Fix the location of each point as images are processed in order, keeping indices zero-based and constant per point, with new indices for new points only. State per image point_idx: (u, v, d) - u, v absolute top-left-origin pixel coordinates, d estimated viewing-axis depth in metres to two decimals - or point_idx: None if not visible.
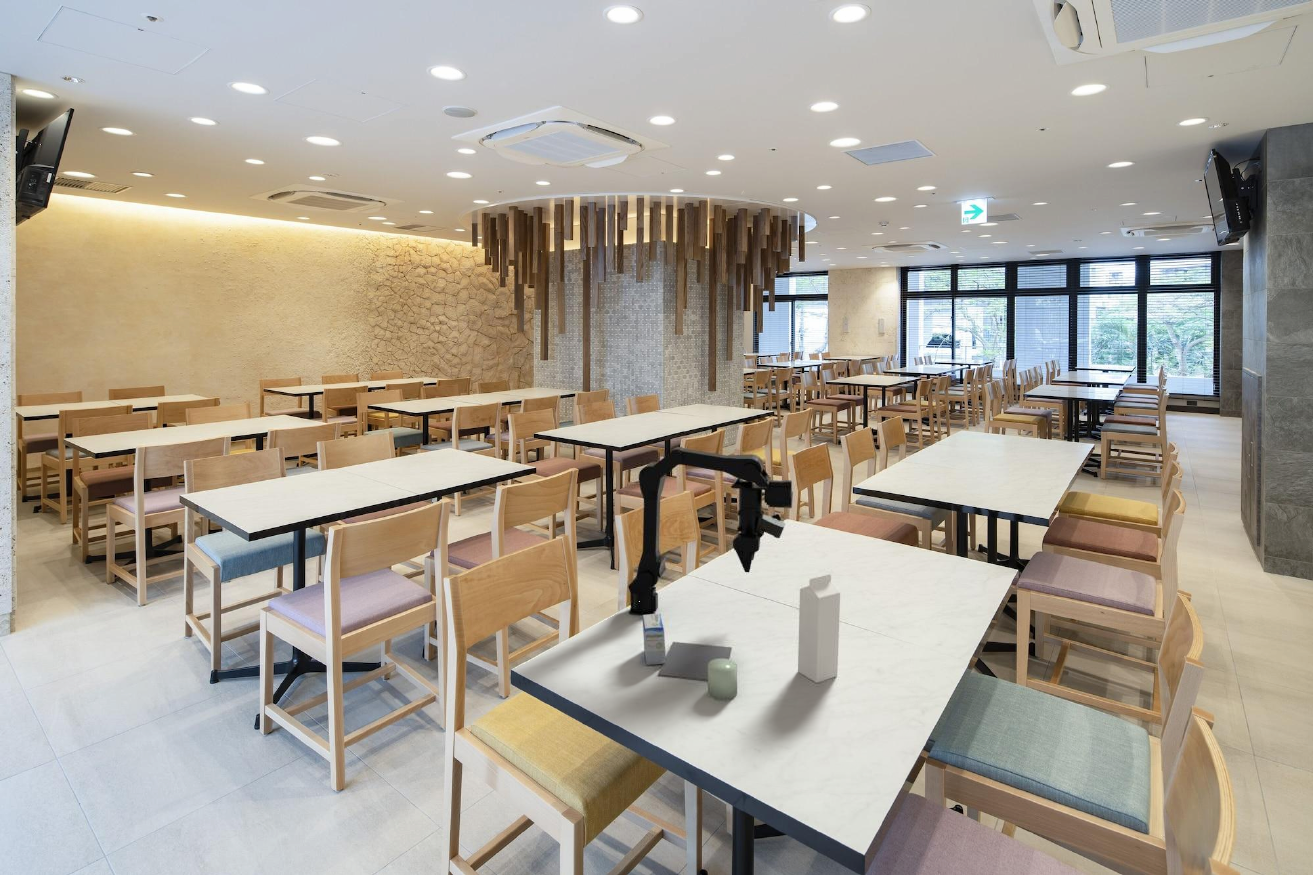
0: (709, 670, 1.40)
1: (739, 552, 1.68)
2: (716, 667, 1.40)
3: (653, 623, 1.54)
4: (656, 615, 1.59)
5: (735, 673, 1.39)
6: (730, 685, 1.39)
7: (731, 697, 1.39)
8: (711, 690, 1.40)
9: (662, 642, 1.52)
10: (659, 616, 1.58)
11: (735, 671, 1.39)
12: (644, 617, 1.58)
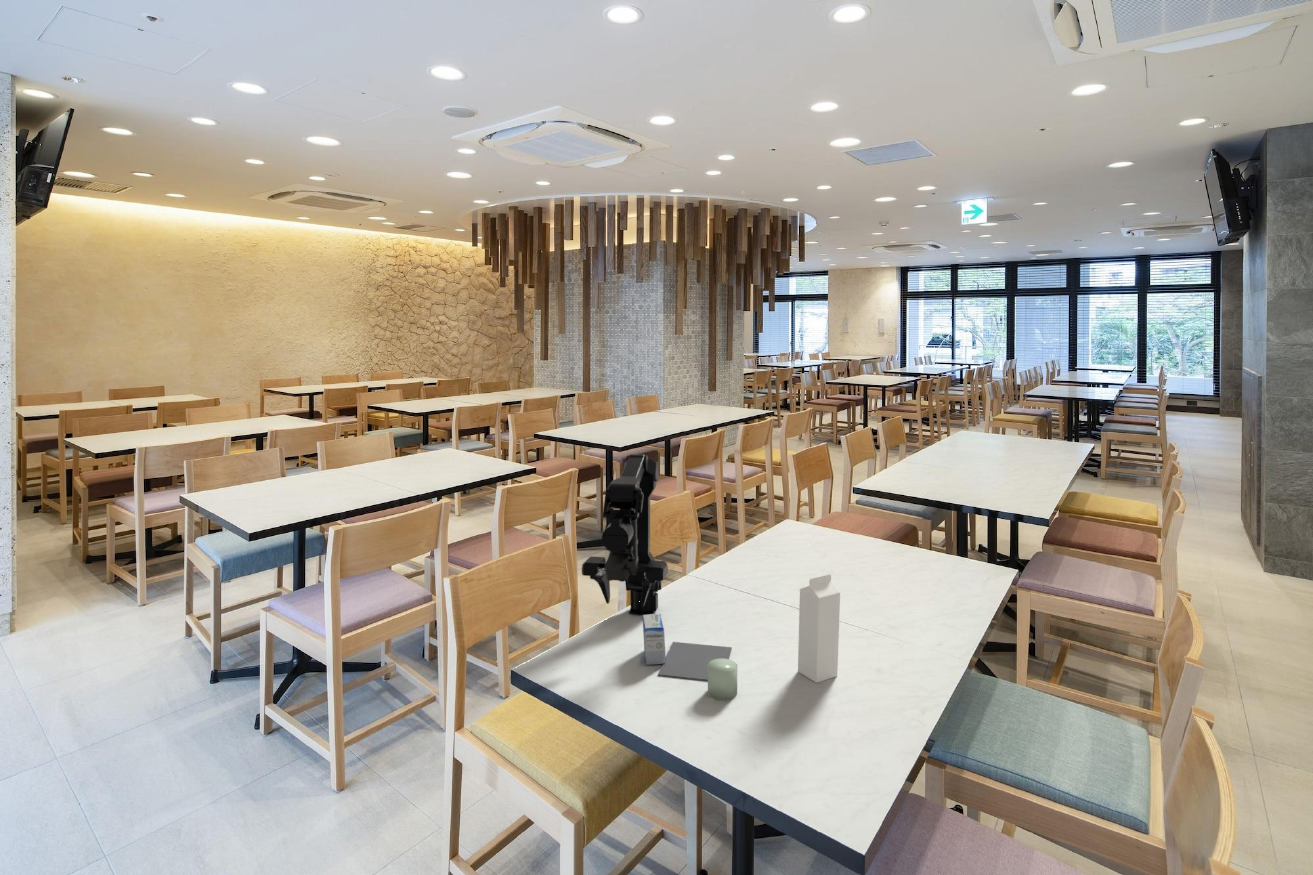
0: (709, 670, 1.40)
1: None
2: (716, 667, 1.40)
3: (653, 623, 1.54)
4: (656, 615, 1.59)
5: (735, 673, 1.39)
6: (730, 685, 1.39)
7: (731, 697, 1.39)
8: (711, 690, 1.40)
9: (662, 642, 1.52)
10: (659, 616, 1.58)
11: (735, 671, 1.39)
12: (644, 617, 1.58)
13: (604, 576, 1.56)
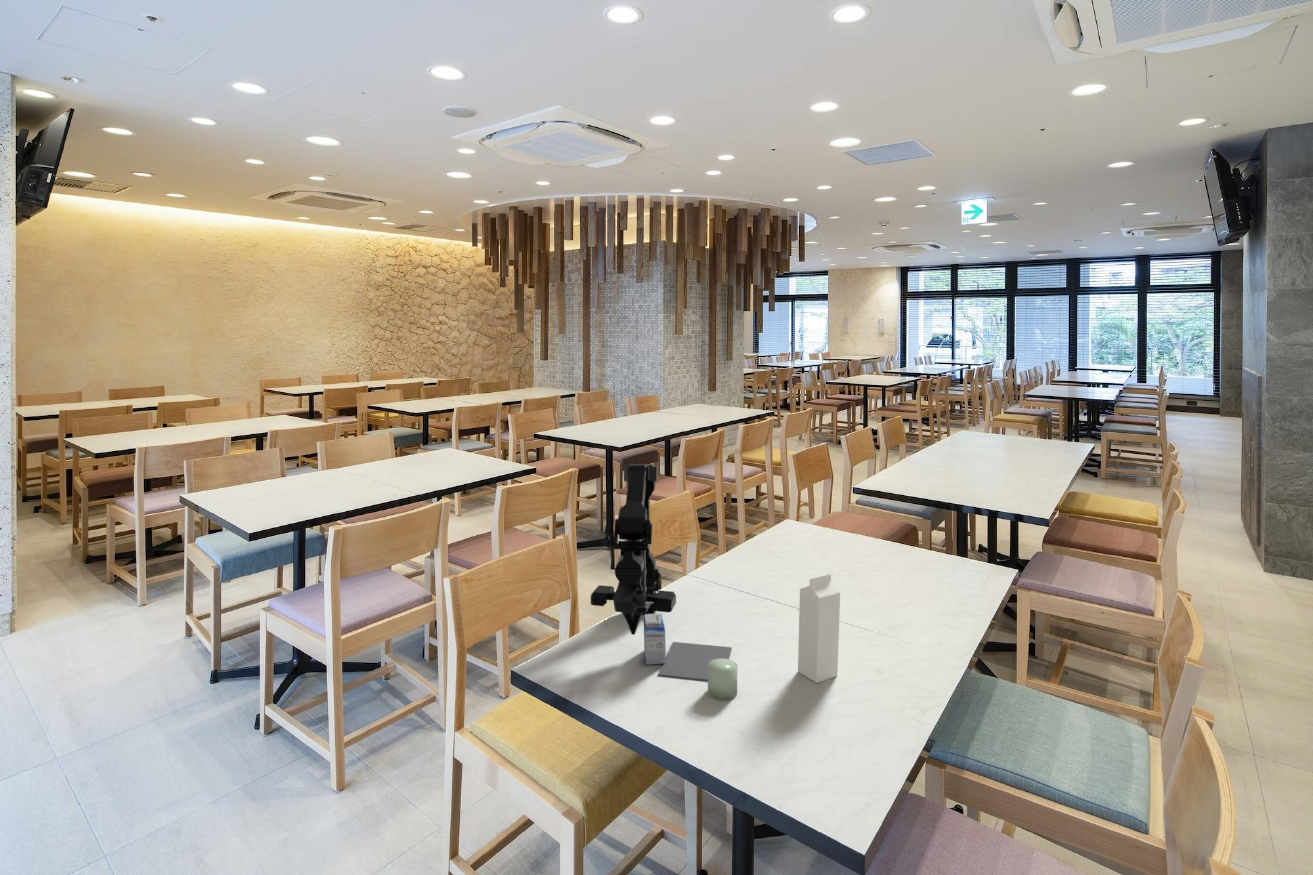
0: (709, 670, 1.40)
1: None
2: (716, 667, 1.40)
3: (654, 623, 1.54)
4: (657, 615, 1.59)
5: (735, 673, 1.39)
6: (730, 685, 1.39)
7: (731, 697, 1.39)
8: (711, 690, 1.40)
9: (663, 642, 1.52)
10: (660, 616, 1.58)
11: (735, 671, 1.39)
12: (645, 616, 1.58)
13: None
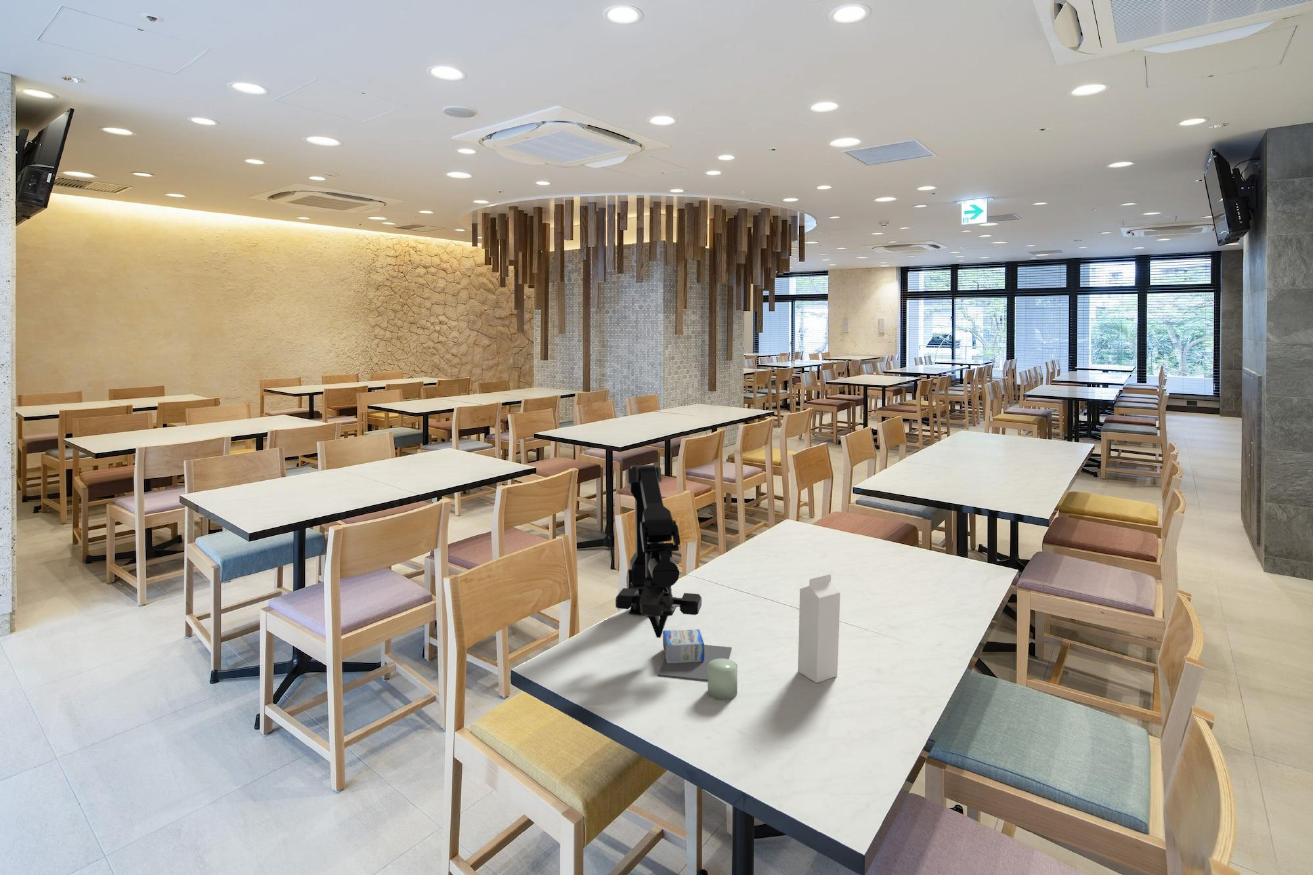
0: (709, 670, 1.40)
1: None
2: (716, 667, 1.40)
3: None
4: None
5: (735, 673, 1.39)
6: (730, 685, 1.39)
7: (731, 697, 1.39)
8: (711, 690, 1.40)
9: (688, 660, 1.54)
10: None
11: (735, 671, 1.39)
12: (700, 633, 1.59)
13: None
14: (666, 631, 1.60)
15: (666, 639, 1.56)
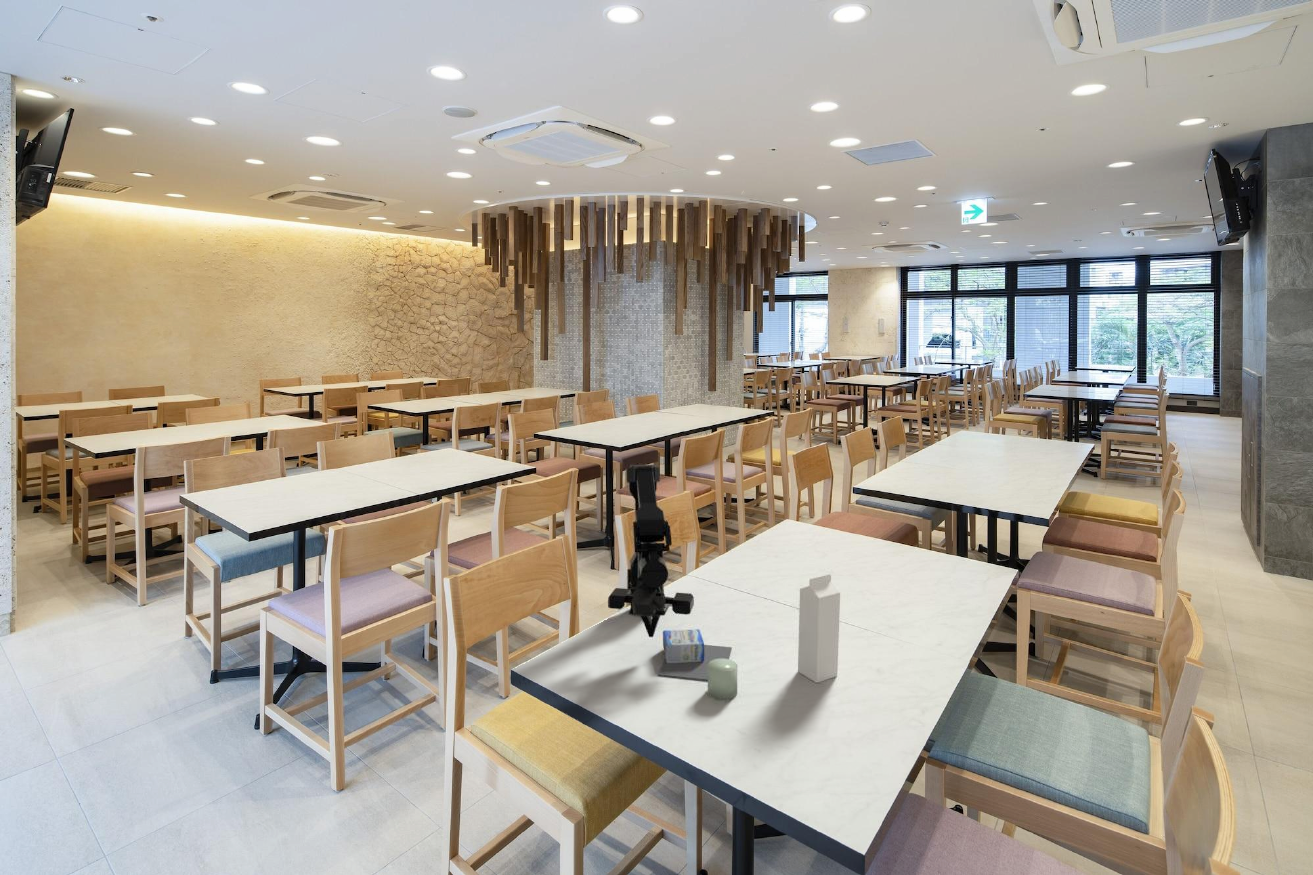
0: (709, 670, 1.40)
1: None
2: (716, 667, 1.40)
3: None
4: None
5: (735, 673, 1.39)
6: (730, 685, 1.39)
7: (731, 697, 1.39)
8: (711, 690, 1.40)
9: (688, 660, 1.54)
10: None
11: (735, 671, 1.39)
12: (700, 633, 1.59)
13: None
14: (666, 631, 1.60)
15: (666, 639, 1.56)
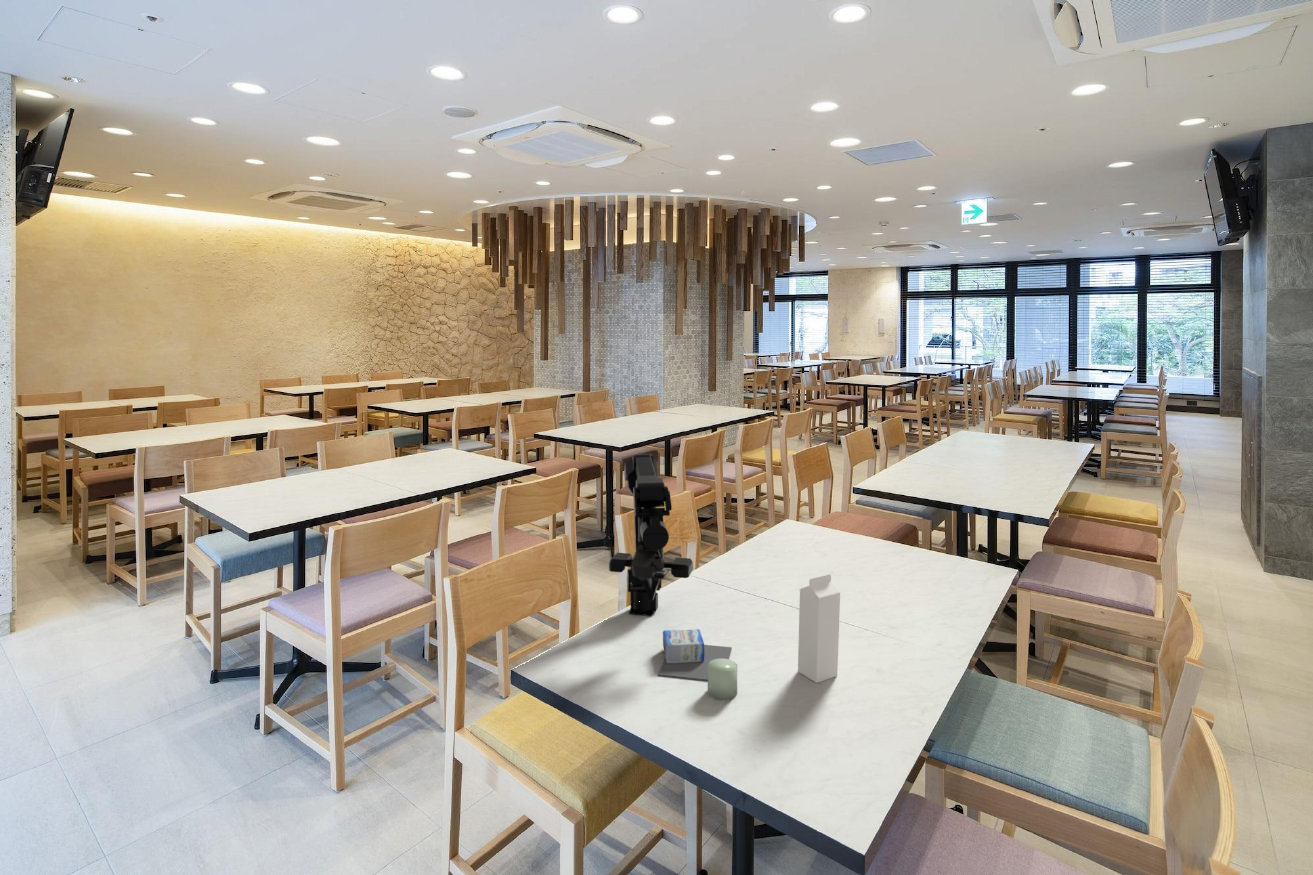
0: (709, 670, 1.40)
1: None
2: (716, 667, 1.40)
3: None
4: None
5: (735, 673, 1.39)
6: (730, 685, 1.39)
7: (731, 697, 1.39)
8: (711, 690, 1.40)
9: (688, 660, 1.54)
10: None
11: (735, 671, 1.39)
12: (700, 633, 1.59)
13: None
14: (666, 631, 1.60)
15: (666, 639, 1.56)
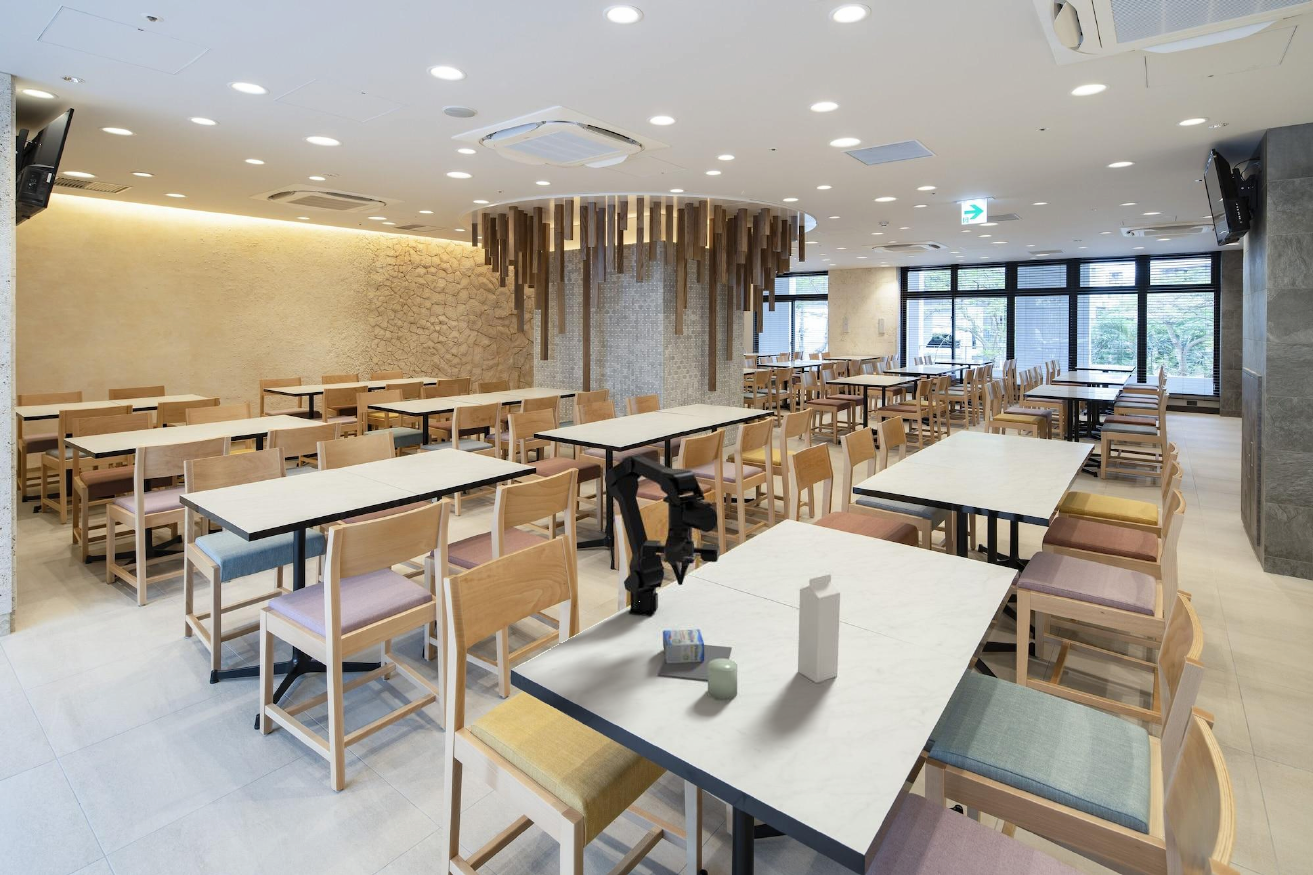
0: (709, 670, 1.40)
1: None
2: (716, 667, 1.40)
3: None
4: None
5: (735, 673, 1.39)
6: (730, 685, 1.39)
7: (731, 697, 1.39)
8: (711, 690, 1.40)
9: (688, 660, 1.54)
10: None
11: (735, 671, 1.39)
12: (700, 633, 1.59)
13: None
14: (666, 631, 1.60)
15: (666, 639, 1.56)
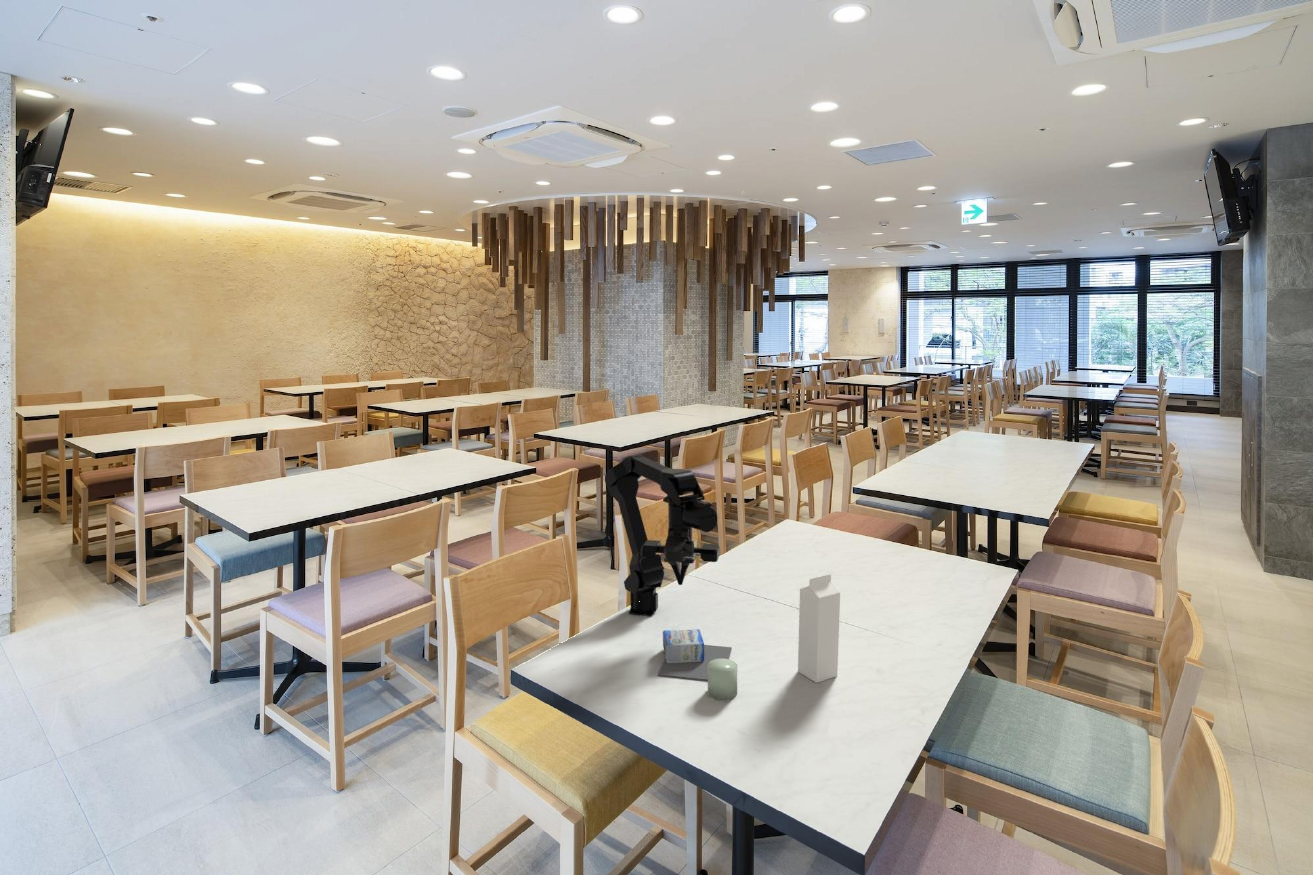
0: (709, 670, 1.40)
1: None
2: (716, 667, 1.40)
3: None
4: None
5: (735, 673, 1.39)
6: (730, 685, 1.39)
7: (731, 697, 1.39)
8: (711, 690, 1.40)
9: (688, 660, 1.54)
10: None
11: (735, 671, 1.39)
12: (700, 633, 1.59)
13: None
14: (666, 631, 1.60)
15: (666, 639, 1.56)
